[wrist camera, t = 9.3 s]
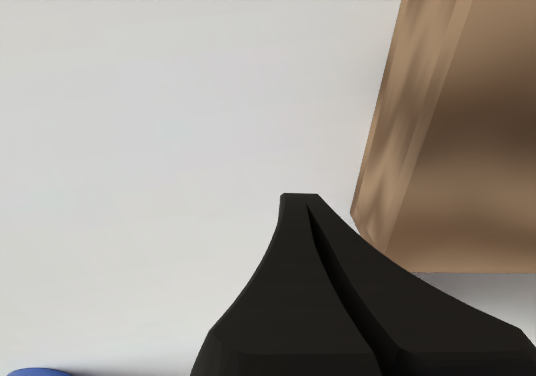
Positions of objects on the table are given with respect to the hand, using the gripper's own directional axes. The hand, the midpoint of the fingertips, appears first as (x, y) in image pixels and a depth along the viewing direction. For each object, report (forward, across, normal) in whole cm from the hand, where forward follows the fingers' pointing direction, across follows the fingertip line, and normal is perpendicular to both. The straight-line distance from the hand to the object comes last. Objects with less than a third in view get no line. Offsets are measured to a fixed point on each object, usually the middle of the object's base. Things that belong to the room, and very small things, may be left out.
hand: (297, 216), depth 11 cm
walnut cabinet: (+9, -11, -2) cm, 15 cm away
